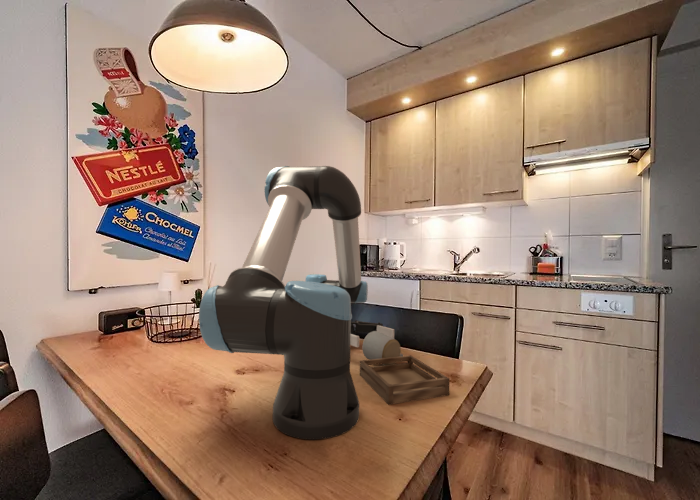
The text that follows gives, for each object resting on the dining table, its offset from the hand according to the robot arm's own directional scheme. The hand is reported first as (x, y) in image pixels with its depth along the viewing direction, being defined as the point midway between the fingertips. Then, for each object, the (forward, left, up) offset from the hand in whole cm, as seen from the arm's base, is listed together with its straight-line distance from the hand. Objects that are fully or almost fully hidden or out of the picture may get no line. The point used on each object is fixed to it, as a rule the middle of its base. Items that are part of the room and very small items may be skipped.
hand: (376, 337), depth 86 cm
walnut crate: (-2, -17, -6) cm, 18 cm away
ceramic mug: (+1, -2, -6) cm, 7 cm away
